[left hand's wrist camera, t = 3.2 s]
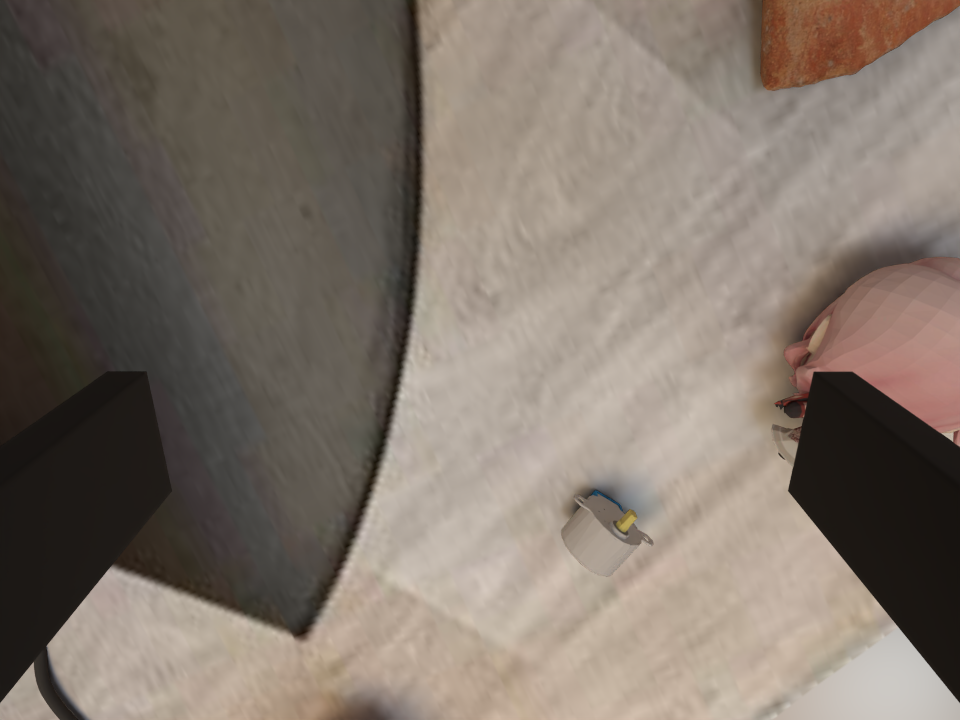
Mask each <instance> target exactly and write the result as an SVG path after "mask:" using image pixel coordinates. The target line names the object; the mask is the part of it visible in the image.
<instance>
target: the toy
mask: <svg viewBox="0 0 960 720" xmlns="http://www.w3.org/2000/svg"><path fill="white" fill-rule="evenodd" d="M784 356H785V358H786V360H787V362H788V363H789V364H790V366H791V367H792V368H793V369H794V372H795V374H794V375H793V376H791V377H789V380H790V382H791V383H792V385H793V386H794V387H797V389H798V390H799V393H793V394H794V395H796V396H792V397H789V398H786V399H783V400H781V401H778V402H776V403H774V404H775V405H776V407H778V405H779V407H780V409H782V408H783V407H784V413H786V414H787V415H788V416H789V417H790V418H804V414H805V409H806V405H807V400H808V395H809V391H810V386H811V381H812V377H813V372H854V373H855V374H857V375H858V376H860V377H861V378H862V379H864V380H865V381H867V382H868V383H870V384H871V385H872V386H874V387H875V388H877V389H878V390H880V391H881V392H882V393H884V394H885V395H887V396H888V397H890V398H891V399H892V400H894V401H895V402H897V403H898V404H900V405H901V406H902V407H904V408H905V409H907V410H908V411H910V412H911V413H912V414H914V415H915V416H917V417H918V418H920V419H921V420H922V421H924V422H925V423H927V424H928V425H930V426H931V427H932V428H934V429H935V430H937V431H938V432H940V433H951V432H954V437H953V442H954V443H955V444H957V445H958V446H960V259H959V258H951V257H932V258H923V259H920V260H917V261H915V262H912V263H909V264H907V263H905V264H898V265H893V266H887V267H883V268H880V269H877V270H875V271H873V272H871V273H869V274H868V275H866V276H864V277H862V278H861V279H859V280H858V281H857V282H855V283H854V284H853V285H851V286H850V287H849V288H847V290H846V291H845V293H844V294H843V295H841V296H840V297H839V298H838V299H836V300H835V301H834V302H833V303H831V304H830V305H829V306H828V307H827V308H826V309H825V310H824V311H823V312H822V313H821V314H820V315H819V316H818V317H817V318H816V319H815V320H814V321H813V323H812V324H811V325H810V326H809V328H808V329H807V330H806V332H805V334H804V336H803V340H802V341H800V342H797V343H794V344H792V345H789V346H788V347H786V348H785V349H784ZM801 428H802V426H801V427H798V428H795V429H789V428H788V429H786V428H783V427H781V426H778V425H775V424H773V426H772V429H771V430H772V437H773V441H774V443H775V446H776V448H777V450H778V452H779V453H778V454H779V455H780V456H781V457H782V458H783V459H785V460H786V461H787V462H788V463H789V464H790V465H791V466H792V467H793V466H794V461H795V456H796V452H797V447H798V442H799V437H800V433H801Z"/></svg>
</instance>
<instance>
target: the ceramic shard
mask: <svg viewBox="0 0 960 720" xmlns="http://www.w3.org/2000/svg"><path fill="white" fill-rule="evenodd" d="M958 6H960V0H763V8H762V31H761V40H762V44H761V72H760V74H761V79H762V83H763V86H764V87H765V88H766V89H767V90H772V91H775V90H779V89H783V88H791V87H802V86H804V85H808V84H815V83H817V82H819V81H822V80H826V79H830V78H835V77H839V76H844V75H853V74H856V73H857V72H858V71H859V70H861V69H862V68H863V67H864V66H866V65H868V64H870V63H872V62H874V61H875V60H876V59H878V58H879V57H881V56H883V55H884V54H886V53H888V52H890V51H892V50H893V49H895V48H897V47H899V46H900V45H901V44H903V43H904V42H905V41H906V40H907V39H908V38H909V37H911V36H912V35H914V34H915V33H916V32H918V31H920V30H922V29H924V28H925V27H926V26H928V25H929V24H930V23H932V22H933V21H936V20H938V19H941V18H943V17H944V16H946V15H948V14H949V13H950V12H952V11H953V10H954V9H956V8H957V7H958Z"/></svg>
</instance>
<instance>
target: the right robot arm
mask: <svg viewBox="0 0 960 720" xmlns="http://www.w3.org/2000/svg"><path fill="white" fill-rule="evenodd" d="M34 670H35V677H36V682H37V685H38V688H39V690H40V692H41V694H42V696H43V698H44V699H45V701H46V703H47V704H48V705H49V707H50V708H51V709H52V711H53V712H54V713H55V715H56V716H57V717H58V718H59V719H60V720H78V719H77V718H76V717H75V716H74V715H73V714H72V712H71V711H70V710H69V709H68V708H67V707H66V706H65V704H64V703H63V702H62V700H61V699H60V697H59V696H58V695H57V693H56V691H55V690H54V688H53V686H52V683H51V680H50V677H49V672H48V664H47V650H46V647H45V648H44V649H43V651H42V652H41V653H40V654H39V656H38V657H37V658H36V659H35V660H34Z"/></svg>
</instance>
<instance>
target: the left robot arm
mask: <svg viewBox="0 0 960 720" xmlns="http://www.w3.org/2000/svg"><path fill="white" fill-rule="evenodd" d="M171 491H172V489H171V484H170V480H169V475H168V470H167V466H166V461H165V456H164V452H163V447H162V442H161V437H160V433H159V428H158V423H157V419H156V414H155V409H154V405H153V400H152V395H151V391H150V386H149V381H148V377H147V372H106V373H105V374H103V375H102V376H100V377H99V378H98V379H96V380H95V381H93V382H92V383H90V384H89V385H88V386H86V387H85V388H83V389H82V390H80V391H79V392H78V393H76V394H75V395H73V396H72V397H70V398H69V399H68V400H66V401H65V402H63V403H62V404H60V405H59V406H58V407H56V408H55V409H53V410H52V411H50V412H49V413H48V414H46V415H45V416H43V417H42V418H40V419H39V420H38V421H36V422H35V423H33V424H32V425H30V426H29V427H28V428H26V429H25V430H23V431H22V432H20V433H19V434H18V435H16V436H15V437H13V438H12V439H10V440H9V441H8V442H6V443H5V444H3V445H2V446H0V702H1V701H2V700H3V699H4V698H5V696H6V695H7V694H8V693H9V691H10V690H11V689H12V688H13V686H14V685H15V684H16V683H17V681H18V680H19V679H20V678H21V677H22V675H23V674H24V673H25V672H26V670H27V669H28V668H29V667H30V665H31V664H32V663H33V662H34V660H35V659H36V658H37V657H38V656H39V654H40V653H41V652H42V651H43V649H44V648H45V647H46V646H47V644H48V643H49V642H50V641H51V640H52V638H53V637H54V636H55V635H56V633H57V632H58V631H59V630H60V628H61V627H62V626H63V625H64V623H65V622H66V621H67V620H68V619H69V617H70V616H71V615H72V614H73V612H74V611H75V610H76V609H77V607H78V606H79V605H80V604H81V602H82V601H83V600H84V599H85V598H86V596H87V595H88V594H89V593H90V591H91V590H92V589H93V588H94V586H95V585H96V584H97V583H98V582H99V580H100V579H101V578H102V577H103V575H104V574H105V573H106V572H107V570H108V569H109V568H110V567H111V565H112V564H113V563H114V562H115V561H116V559H117V558H118V557H119V556H120V554H121V553H122V552H123V551H124V549H125V548H126V547H127V546H128V544H129V543H130V542H131V541H132V540H133V538H134V537H135V536H136V535H137V533H138V532H139V531H140V530H141V528H142V527H143V526H144V525H145V523H146V522H147V521H148V520H149V519H150V517H151V516H152V515H153V514H154V512H155V511H156V510H157V509H158V507H159V506H160V505H161V504H162V503H163V501H164V500H165V499H166V498H167V496H168V495H169V494H170V493H171ZM788 491H789V493H790V494H791V495H792V496H793V498H794V499H795V500H796V501H797V503H798V504H799V505H800V506H801V507H802V509H803V510H804V511H805V512H806V514H807V515H808V516H809V517H810V519H811V520H812V521H813V522H814V523H815V525H816V526H817V527H818V528H819V530H820V531H821V532H822V533H823V535H824V536H825V537H826V538H827V540H828V541H829V542H830V543H831V544H832V546H833V547H834V548H835V549H836V551H837V552H838V553H839V554H840V556H841V557H842V558H843V559H844V561H845V562H846V563H847V564H848V565H849V567H850V568H851V569H852V570H853V572H854V573H855V574H856V575H857V577H858V578H859V579H860V580H861V582H862V583H863V584H864V585H865V586H866V588H867V589H868V590H869V591H870V593H871V594H872V595H873V596H874V598H875V599H876V600H877V601H878V602H879V604H880V605H881V606H882V607H883V609H884V610H885V611H886V612H887V614H888V615H889V616H890V617H891V619H892V620H893V621H894V622H895V623H896V625H897V626H898V627H899V628H900V630H901V631H902V632H903V633H904V635H905V636H906V637H907V638H908V639H909V641H910V642H911V643H912V644H913V646H914V647H915V648H916V649H917V651H918V652H919V653H920V654H921V656H922V657H923V658H924V659H925V660H926V662H927V663H928V664H929V665H930V667H931V668H932V669H933V670H934V672H935V673H936V674H937V675H938V677H939V678H940V679H941V680H942V681H943V683H944V684H945V685H946V686H947V688H948V689H949V690H950V691H951V693H952V694H953V695H954V696H955V698H956V699H957V700H958V701H959V702H960V446H958V445H957V444H955V443H954V442H952V441H951V440H950V439H948V438H947V437H945V436H944V435H942V434H941V433H940V432H938V431H937V430H935V429H934V428H932V427H931V426H930V425H928V424H927V423H925V422H924V421H922V420H921V419H920V418H918V417H917V416H915V415H914V414H912V413H911V412H910V411H908V410H907V409H905V408H904V407H902V406H901V405H900V404H898V403H897V402H895V401H894V400H892V399H891V398H890V397H888V396H887V395H885V394H884V393H882V392H881V391H880V390H878V389H877V388H875V387H874V386H872V385H871V384H870V383H868V382H867V381H865V380H864V379H862V378H861V377H860V376H858V375H857V374H855V373H854V372H813V377H812V381H811V386H810V391H809V395H808V400H807V405H806V409H805V414H804V419H803V423H802V428H801V433H800V437H799V442H798V447H797V452H796V456H795V461H794V466H793V470H792V475H791V480H790V484H789V489H788Z"/></svg>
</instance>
